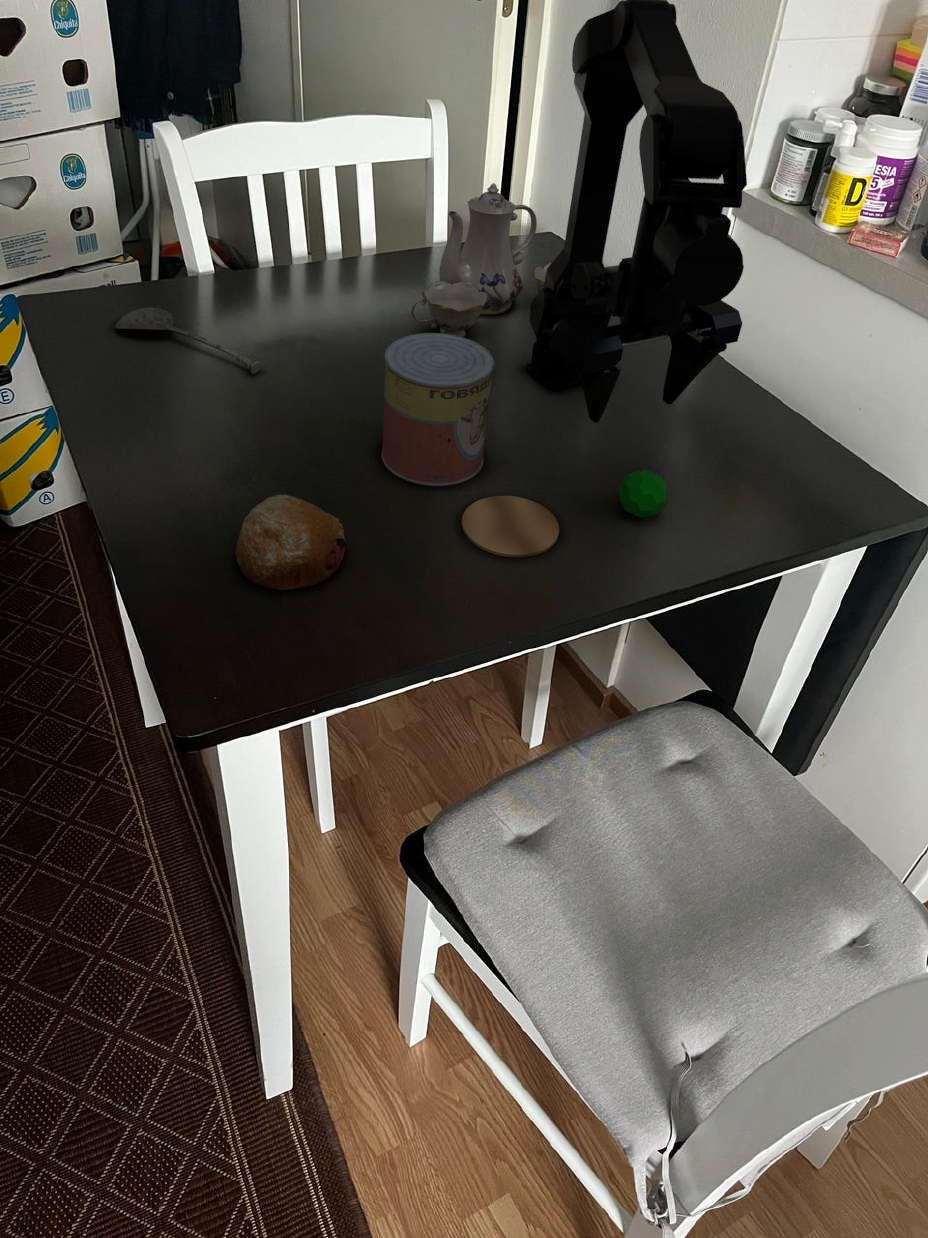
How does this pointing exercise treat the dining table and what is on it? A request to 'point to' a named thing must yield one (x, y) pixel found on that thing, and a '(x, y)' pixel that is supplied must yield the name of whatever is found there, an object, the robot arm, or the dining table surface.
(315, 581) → the bread roll
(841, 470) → the dining table surface
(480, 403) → the canned food
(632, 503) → the polyhedron
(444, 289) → the chinaware
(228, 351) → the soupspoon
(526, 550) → the coaster
